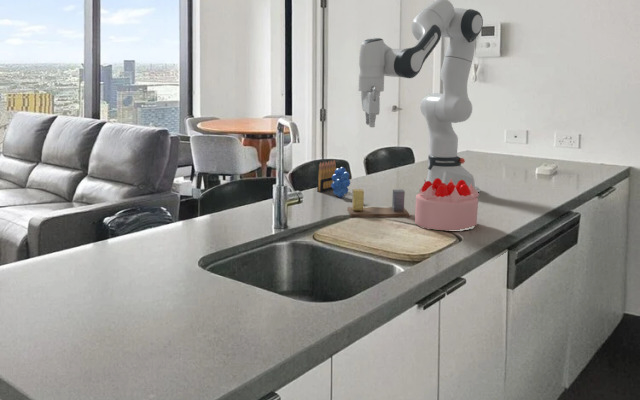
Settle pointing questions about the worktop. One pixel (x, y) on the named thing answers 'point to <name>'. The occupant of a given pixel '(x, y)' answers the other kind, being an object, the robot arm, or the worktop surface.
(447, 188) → the cake
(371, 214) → the brown flat rectangular board
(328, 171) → the ammunition clip
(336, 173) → the grapes
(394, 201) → the grey rectangular block
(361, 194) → the wooden block
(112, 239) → the worktop surface
